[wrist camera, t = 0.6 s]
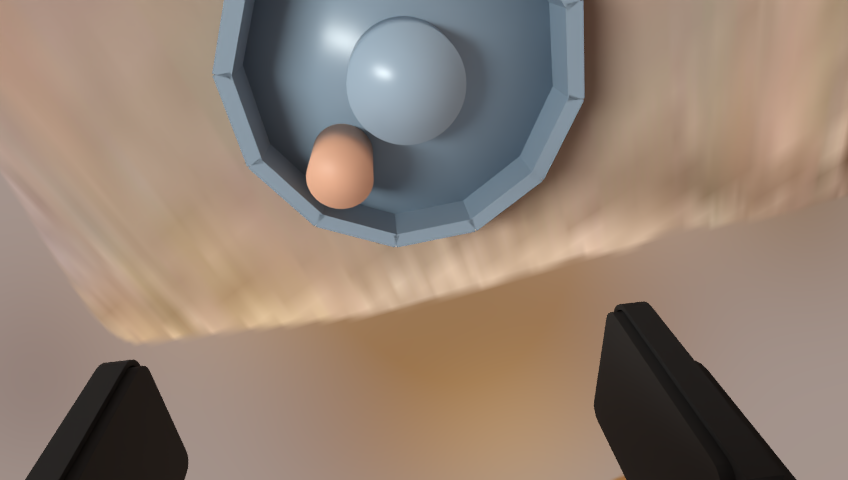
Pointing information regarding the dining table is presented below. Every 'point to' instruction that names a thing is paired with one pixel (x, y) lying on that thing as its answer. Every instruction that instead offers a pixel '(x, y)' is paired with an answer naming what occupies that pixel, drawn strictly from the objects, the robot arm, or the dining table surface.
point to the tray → (406, 177)
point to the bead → (341, 167)
